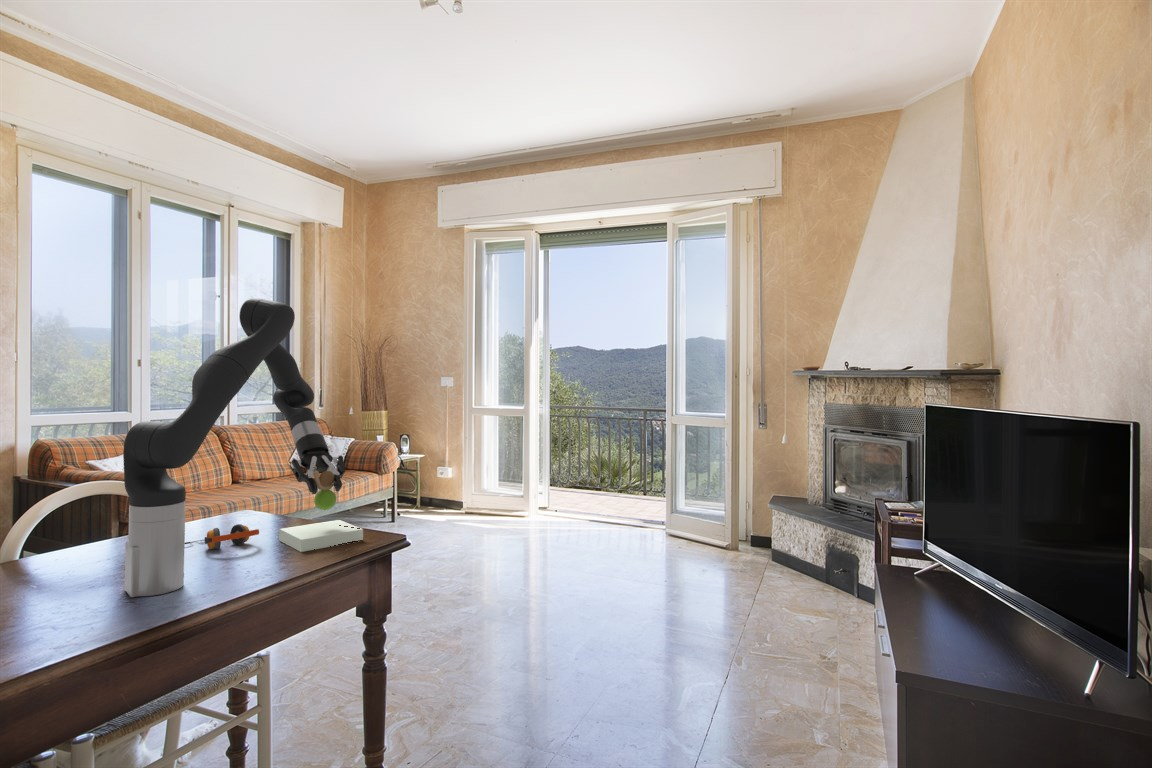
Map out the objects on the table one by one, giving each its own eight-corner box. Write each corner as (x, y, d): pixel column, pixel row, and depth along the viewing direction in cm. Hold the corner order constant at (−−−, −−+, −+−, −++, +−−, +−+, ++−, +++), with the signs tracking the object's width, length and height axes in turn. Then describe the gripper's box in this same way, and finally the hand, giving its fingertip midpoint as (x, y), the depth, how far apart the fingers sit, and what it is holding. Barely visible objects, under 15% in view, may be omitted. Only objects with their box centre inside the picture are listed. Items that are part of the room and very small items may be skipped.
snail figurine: (306, 511, 157) (306, 465, 157) (326, 506, 163) (327, 462, 163) (320, 514, 155) (321, 467, 155) (340, 509, 160) (341, 464, 160)
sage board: (300, 552, 147) (301, 539, 147) (279, 540, 156) (279, 528, 156) (362, 540, 158) (363, 529, 158) (339, 530, 168) (339, 519, 168)
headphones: (244, 523, 164) (275, 518, 151) (245, 542, 163) (277, 539, 151) (174, 534, 151) (202, 530, 139) (176, 555, 150) (204, 553, 138)
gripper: (286, 433, 159) (303, 485, 151) (339, 431, 169) (358, 479, 161) (278, 451, 162) (294, 503, 154) (330, 448, 173) (348, 496, 165)
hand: (327, 490), depth 158 cm, fingers closed on snail figurine, 5 cm apart
